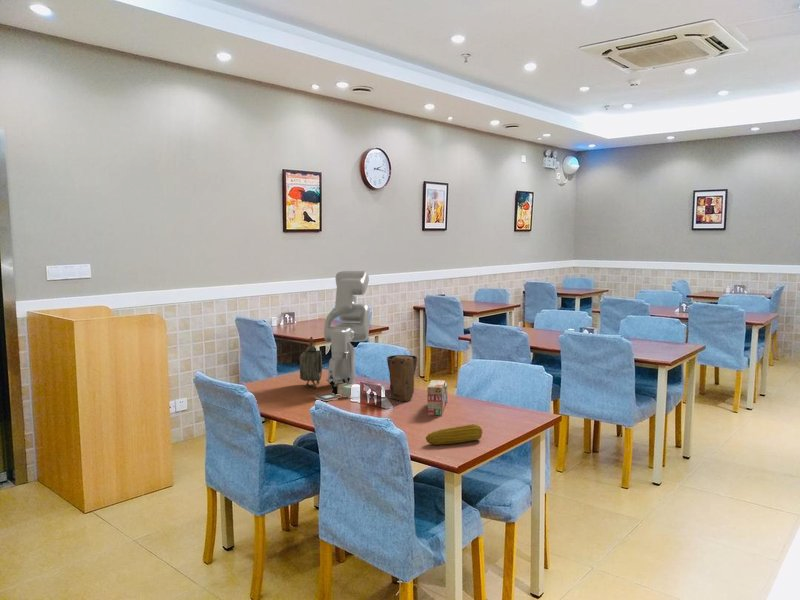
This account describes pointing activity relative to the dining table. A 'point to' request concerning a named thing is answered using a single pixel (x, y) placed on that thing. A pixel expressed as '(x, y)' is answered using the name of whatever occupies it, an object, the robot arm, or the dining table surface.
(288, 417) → the dining table surface
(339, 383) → the birch block
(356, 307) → the robot arm
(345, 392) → the sage block
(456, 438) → the food
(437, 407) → the stack of blocks
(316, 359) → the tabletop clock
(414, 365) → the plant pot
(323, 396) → the blueprint pad
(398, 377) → the brown tapered cylinder
